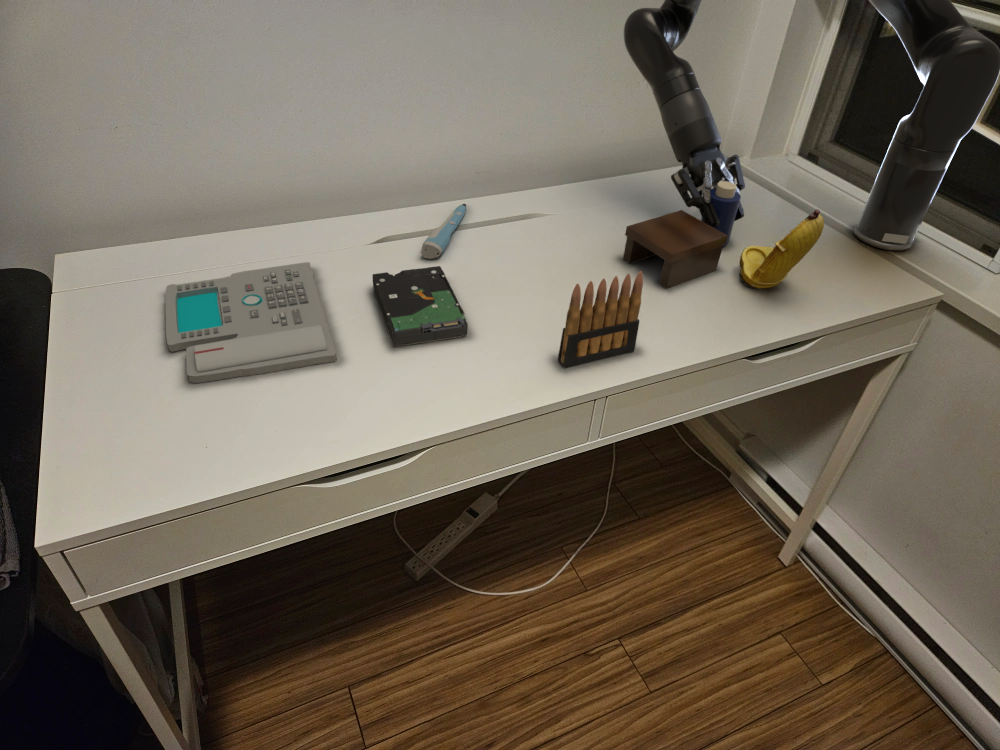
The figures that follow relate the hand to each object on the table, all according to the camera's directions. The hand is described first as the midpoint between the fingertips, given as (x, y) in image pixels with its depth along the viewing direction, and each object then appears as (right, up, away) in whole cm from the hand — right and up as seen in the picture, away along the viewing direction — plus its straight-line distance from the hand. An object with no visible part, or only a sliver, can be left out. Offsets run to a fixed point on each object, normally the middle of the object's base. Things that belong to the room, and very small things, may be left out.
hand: (726, 222), depth 114 cm
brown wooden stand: (-10, -7, -3) cm, 13 cm away
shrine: (+4, -11, -6) cm, 13 cm away
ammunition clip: (-24, -23, -22) cm, 40 cm away
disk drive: (-49, -16, -16) cm, 54 cm away
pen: (-46, -2, +2) cm, 46 cm away
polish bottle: (-1, -2, +4) cm, 5 cm away
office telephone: (-71, -18, -20) cm, 76 cm away
